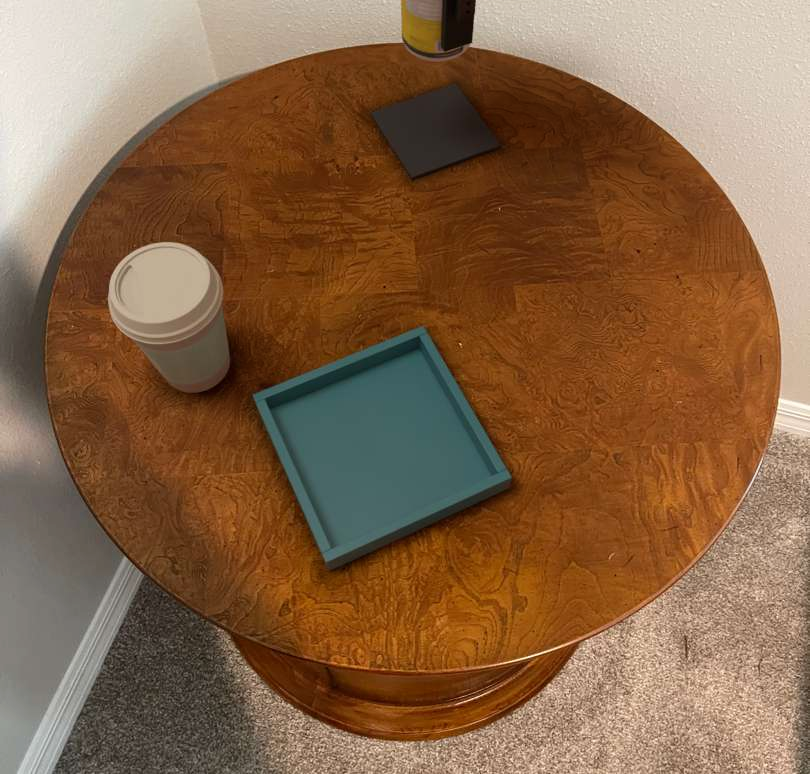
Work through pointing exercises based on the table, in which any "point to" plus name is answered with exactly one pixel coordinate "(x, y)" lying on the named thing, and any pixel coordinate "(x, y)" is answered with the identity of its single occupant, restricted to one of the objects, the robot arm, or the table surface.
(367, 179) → the table surface
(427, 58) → the pill bottle
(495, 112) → the table surface
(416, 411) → the tray
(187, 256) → the coffee cup
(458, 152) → the mat
